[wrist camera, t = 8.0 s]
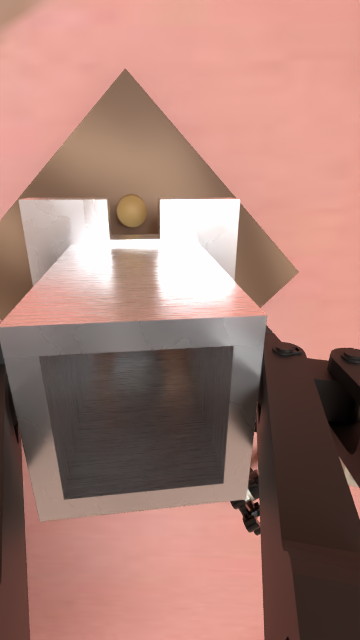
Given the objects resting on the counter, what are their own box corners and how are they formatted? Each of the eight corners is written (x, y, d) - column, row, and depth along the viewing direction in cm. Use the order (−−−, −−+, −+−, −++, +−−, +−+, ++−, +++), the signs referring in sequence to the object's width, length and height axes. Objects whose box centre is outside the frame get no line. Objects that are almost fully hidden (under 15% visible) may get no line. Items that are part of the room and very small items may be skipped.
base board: (141, 405, 28) (144, 479, 21) (-40, 275, 22) (-116, 319, 15) (289, 266, 25) (349, 300, 18) (125, 76, 19) (122, 20, 12)
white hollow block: (221, 366, 21) (299, 536, 11) (56, 376, 20) (-20, 576, 10) (231, 197, 18) (364, 226, 7) (27, 197, 16) (-140, 233, 6)
